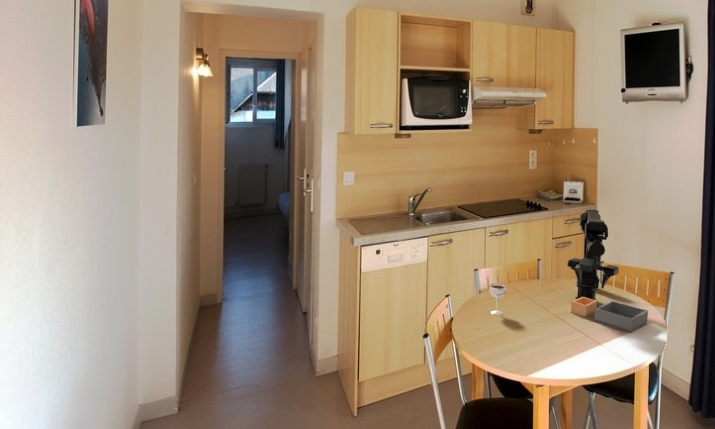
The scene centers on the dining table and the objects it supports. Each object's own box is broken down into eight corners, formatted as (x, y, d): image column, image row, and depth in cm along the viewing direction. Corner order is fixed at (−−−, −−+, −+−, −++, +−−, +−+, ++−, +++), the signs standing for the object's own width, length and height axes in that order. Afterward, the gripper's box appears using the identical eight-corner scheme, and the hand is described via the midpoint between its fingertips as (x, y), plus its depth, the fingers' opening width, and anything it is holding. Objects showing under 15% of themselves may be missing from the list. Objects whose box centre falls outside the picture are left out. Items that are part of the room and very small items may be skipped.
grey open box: (594, 321, 186) (595, 308, 185) (611, 312, 194) (612, 300, 193) (630, 333, 175) (632, 319, 174) (646, 323, 183) (648, 310, 182)
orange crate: (570, 312, 195) (571, 301, 194) (581, 307, 201) (582, 296, 200) (585, 317, 190) (586, 306, 189) (596, 311, 195) (597, 300, 194)
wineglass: (487, 313, 196) (488, 287, 193) (490, 308, 202) (491, 282, 199) (503, 316, 193) (504, 289, 190) (506, 310, 198) (507, 284, 196)
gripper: (562, 250, 191) (560, 285, 194) (610, 258, 177) (606, 296, 180) (574, 245, 198) (571, 279, 201) (620, 253, 185) (617, 289, 188)
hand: (590, 285), depth 192 cm, fingers open, 9 cm apart
